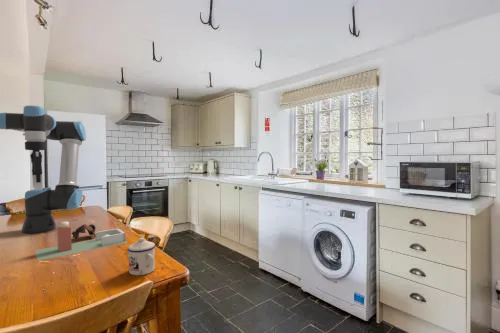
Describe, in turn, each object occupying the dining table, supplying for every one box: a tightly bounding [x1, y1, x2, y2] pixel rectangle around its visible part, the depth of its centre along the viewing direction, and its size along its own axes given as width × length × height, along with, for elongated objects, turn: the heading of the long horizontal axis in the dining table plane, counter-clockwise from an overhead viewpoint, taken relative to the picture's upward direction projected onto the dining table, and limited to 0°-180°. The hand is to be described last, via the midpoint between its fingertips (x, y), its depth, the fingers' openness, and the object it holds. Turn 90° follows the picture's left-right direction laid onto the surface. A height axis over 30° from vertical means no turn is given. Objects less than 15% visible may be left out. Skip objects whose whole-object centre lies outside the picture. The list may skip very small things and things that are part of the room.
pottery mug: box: [71, 223, 96, 240], centre depth 137 cm, size 12×10×8 cm
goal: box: [95, 228, 127, 246], centre depth 132 cm, size 12×10×4 cm
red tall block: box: [56, 221, 72, 252], centre depth 120 cm, size 4×4×12 cm
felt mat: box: [34, 238, 128, 262], centre depth 125 cm, size 16×34×1 cm, turn 131°
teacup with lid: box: [127, 237, 156, 276], centre depth 97 cm, size 12×9×12 cm
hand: (37, 188), depth 123 cm, fingers open, 13 cm apart
